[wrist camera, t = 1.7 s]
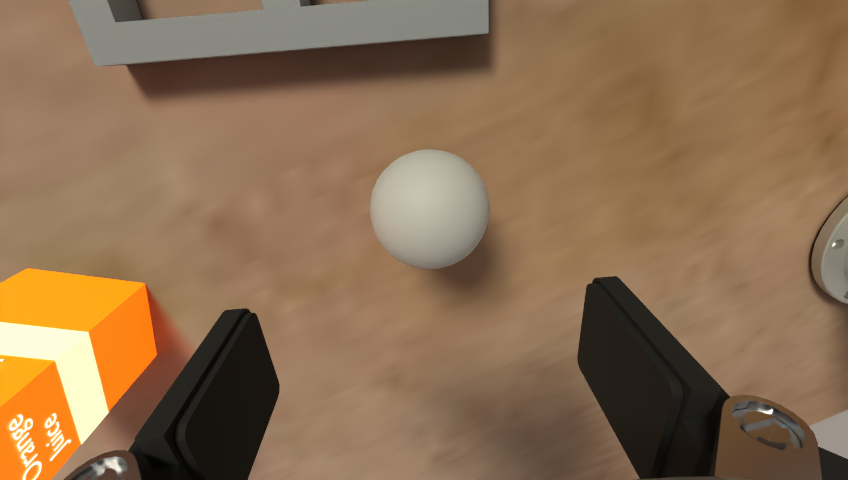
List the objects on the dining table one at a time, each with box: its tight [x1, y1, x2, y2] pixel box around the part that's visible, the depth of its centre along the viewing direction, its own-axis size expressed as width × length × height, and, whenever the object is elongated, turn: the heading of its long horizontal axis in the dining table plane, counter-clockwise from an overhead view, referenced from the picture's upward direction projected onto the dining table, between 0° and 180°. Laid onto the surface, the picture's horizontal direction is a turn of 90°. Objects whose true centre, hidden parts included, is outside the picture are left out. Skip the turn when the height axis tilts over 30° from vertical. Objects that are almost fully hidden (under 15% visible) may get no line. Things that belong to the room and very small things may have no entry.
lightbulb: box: [370, 149, 490, 269], centre depth 22 cm, size 6×6×11 cm
